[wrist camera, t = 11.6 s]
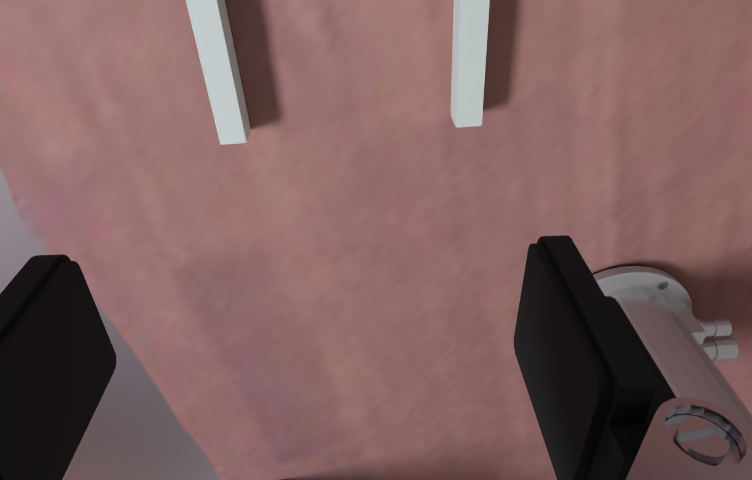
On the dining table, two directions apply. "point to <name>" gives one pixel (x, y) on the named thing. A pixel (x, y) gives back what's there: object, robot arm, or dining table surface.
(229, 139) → the channel
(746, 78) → the dining table surface
